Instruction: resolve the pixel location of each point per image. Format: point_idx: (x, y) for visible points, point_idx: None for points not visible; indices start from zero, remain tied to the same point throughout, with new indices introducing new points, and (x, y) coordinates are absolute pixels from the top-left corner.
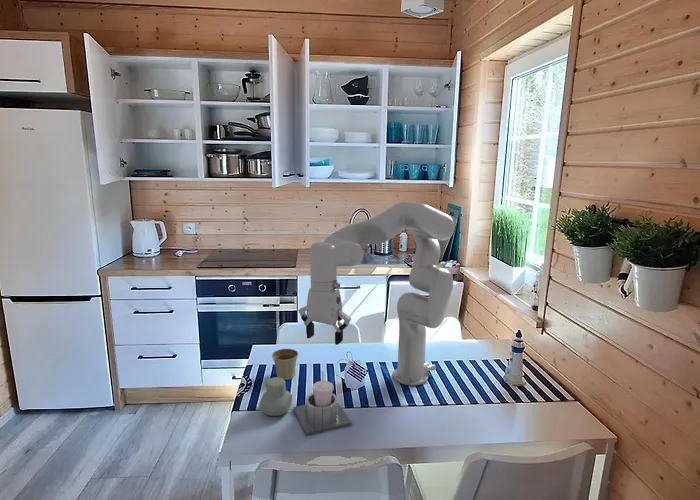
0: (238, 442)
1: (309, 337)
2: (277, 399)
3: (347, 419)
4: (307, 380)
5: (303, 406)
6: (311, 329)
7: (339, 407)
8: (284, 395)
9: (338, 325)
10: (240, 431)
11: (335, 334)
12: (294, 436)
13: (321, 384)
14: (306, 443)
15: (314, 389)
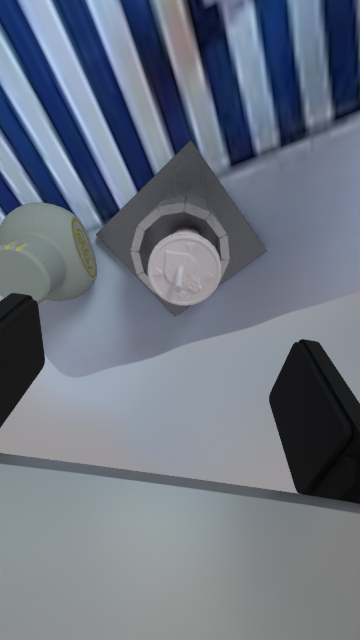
0: (68, 359)
1: (41, 363)
2: (61, 286)
3: (254, 242)
4: (27, 5)
5: (119, 222)
6: (1, 379)
7: (219, 191)
8: (66, 266)
9: (357, 503)
10: (47, 335)
11: (298, 480)
12: (153, 319)
13: (176, 269)
14: (185, 331)
15: (164, 299)
